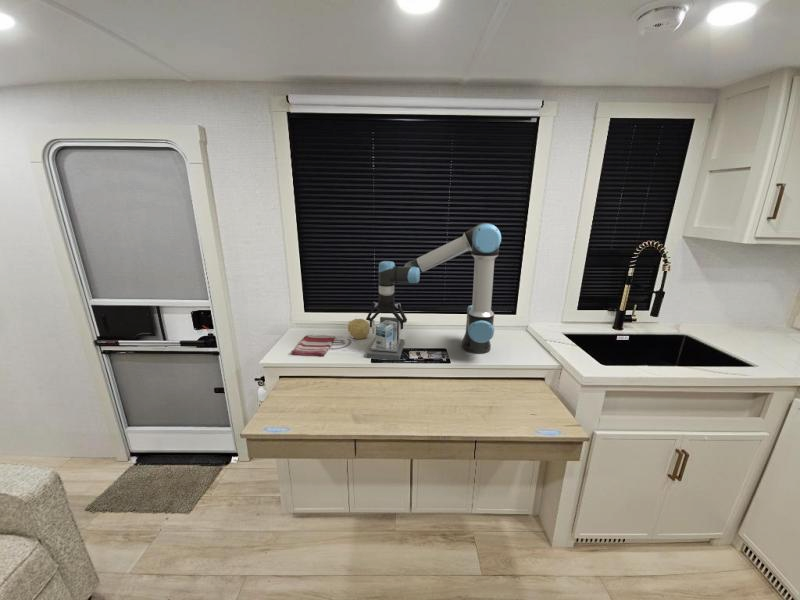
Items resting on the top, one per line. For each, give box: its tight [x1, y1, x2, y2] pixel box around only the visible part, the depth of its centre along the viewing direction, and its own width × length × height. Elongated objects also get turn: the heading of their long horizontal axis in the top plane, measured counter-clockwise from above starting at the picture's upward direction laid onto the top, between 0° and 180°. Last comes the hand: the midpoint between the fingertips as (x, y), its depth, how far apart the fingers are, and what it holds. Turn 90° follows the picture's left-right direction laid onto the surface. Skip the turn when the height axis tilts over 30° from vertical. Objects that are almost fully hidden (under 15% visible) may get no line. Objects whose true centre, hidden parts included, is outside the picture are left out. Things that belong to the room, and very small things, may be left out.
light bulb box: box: [375, 320, 397, 348], centre depth 164 cm, size 11×7×11 cm, turn 151°
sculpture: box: [347, 318, 371, 340], centre depth 183 cm, size 12×12×11 cm
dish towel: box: [290, 334, 337, 358], centre depth 171 cm, size 17×23×3 cm
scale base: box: [366, 316, 405, 361], centre depth 166 cm, size 16×20×14 cm
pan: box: [371, 338, 401, 352], centre depth 166 cm, size 13×13×2 cm
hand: (386, 334), depth 164 cm, fingers open, 13 cm apart
